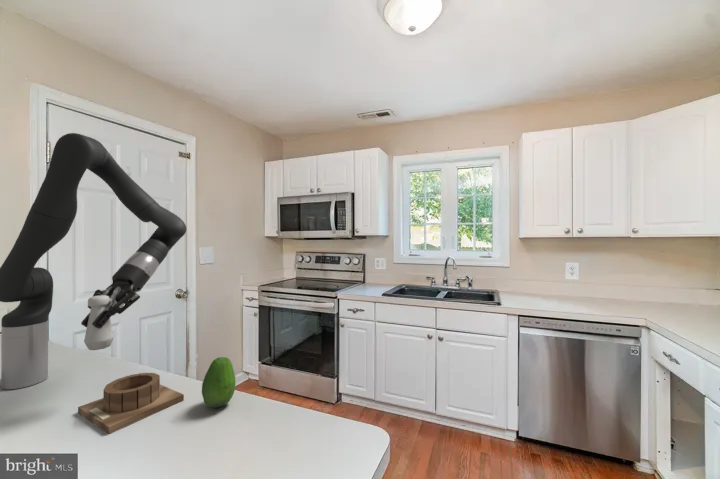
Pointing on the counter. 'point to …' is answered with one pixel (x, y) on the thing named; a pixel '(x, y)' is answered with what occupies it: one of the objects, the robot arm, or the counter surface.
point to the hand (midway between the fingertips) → (90, 326)
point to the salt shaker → (98, 336)
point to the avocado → (219, 383)
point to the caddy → (129, 401)
